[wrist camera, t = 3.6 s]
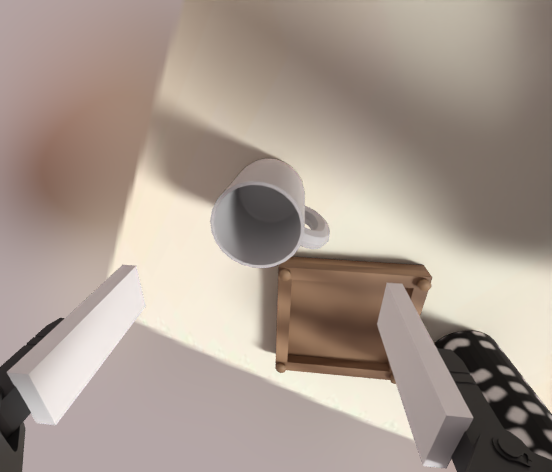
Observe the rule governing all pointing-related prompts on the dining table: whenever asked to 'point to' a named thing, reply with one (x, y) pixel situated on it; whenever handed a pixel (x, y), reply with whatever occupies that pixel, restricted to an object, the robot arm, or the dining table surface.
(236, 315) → the dining table surface
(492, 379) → the white-spotted black cylinder
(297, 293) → the wooden tray
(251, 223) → the cup
